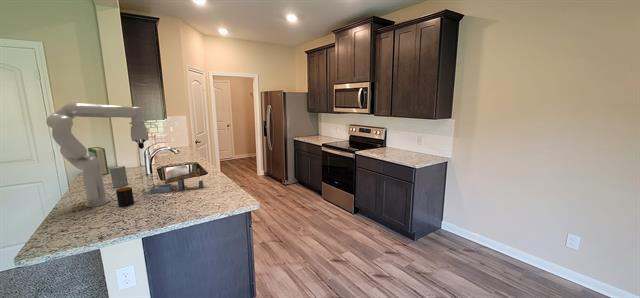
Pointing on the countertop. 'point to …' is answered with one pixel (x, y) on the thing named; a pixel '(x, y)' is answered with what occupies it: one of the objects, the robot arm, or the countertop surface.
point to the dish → (161, 188)
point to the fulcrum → (181, 186)
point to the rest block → (200, 184)
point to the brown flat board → (182, 177)
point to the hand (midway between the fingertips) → (141, 148)
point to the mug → (125, 197)
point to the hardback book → (99, 157)
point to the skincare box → (118, 176)
